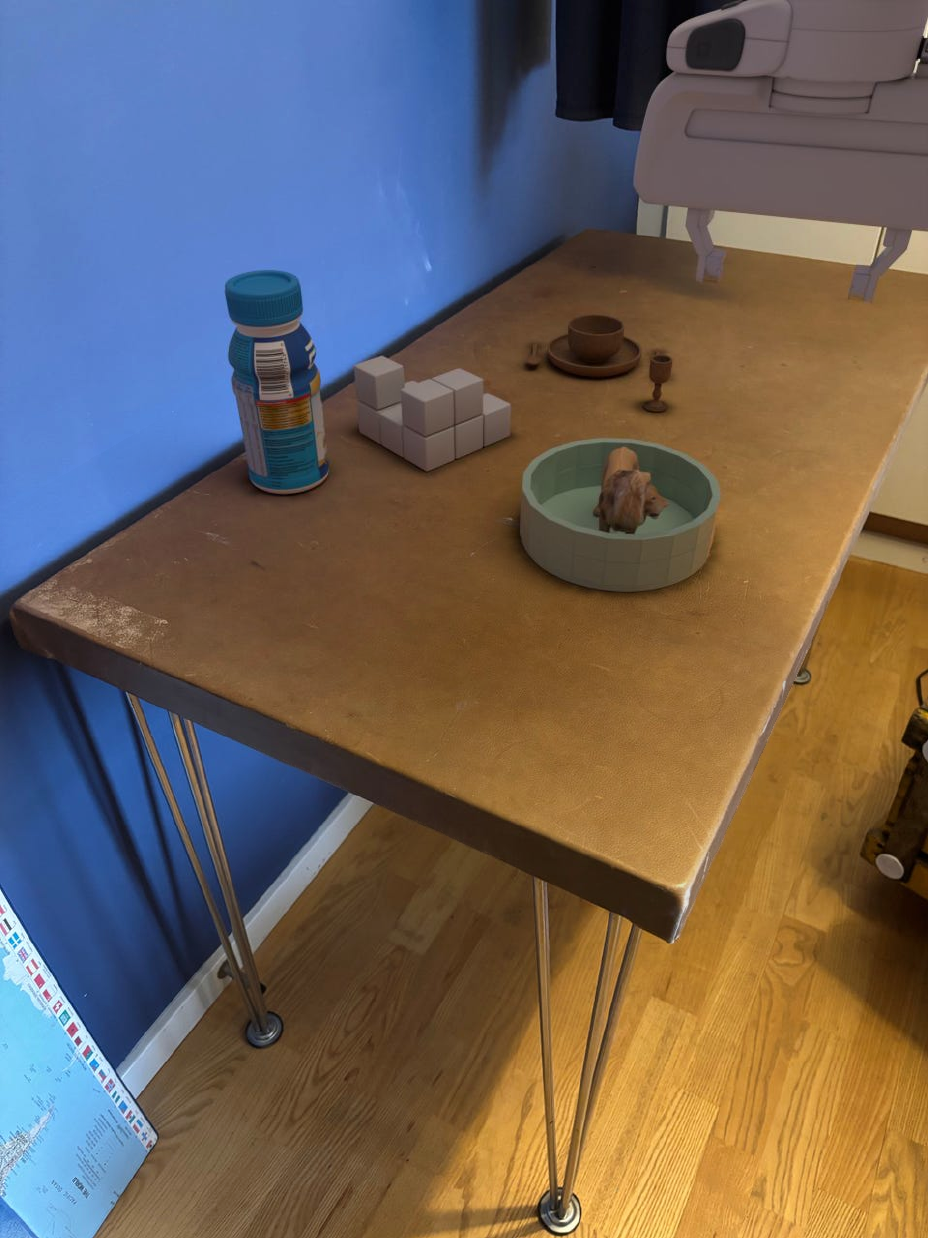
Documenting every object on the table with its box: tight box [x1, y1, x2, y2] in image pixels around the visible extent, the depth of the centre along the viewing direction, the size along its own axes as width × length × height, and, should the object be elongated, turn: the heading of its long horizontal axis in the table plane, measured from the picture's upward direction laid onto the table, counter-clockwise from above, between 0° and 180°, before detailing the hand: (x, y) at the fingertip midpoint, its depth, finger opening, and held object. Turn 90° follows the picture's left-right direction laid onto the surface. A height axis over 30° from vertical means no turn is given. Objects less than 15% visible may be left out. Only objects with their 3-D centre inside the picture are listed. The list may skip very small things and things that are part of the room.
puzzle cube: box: [353, 355, 512, 472], centre depth 99 cm, size 12×12×8 cm
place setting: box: [525, 314, 674, 413], centre depth 111 cm, size 18×20×6 cm
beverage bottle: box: [224, 269, 330, 495], centre depth 88 cm, size 8×8×20 cm
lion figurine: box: [593, 447, 669, 534], centre depth 82 cm, size 15×5×9 cm, turn 2°
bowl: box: [519, 437, 723, 593], centre depth 83 cm, size 18×18×6 cm
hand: (782, 289), depth 58 cm, fingers open, 8 cm apart
